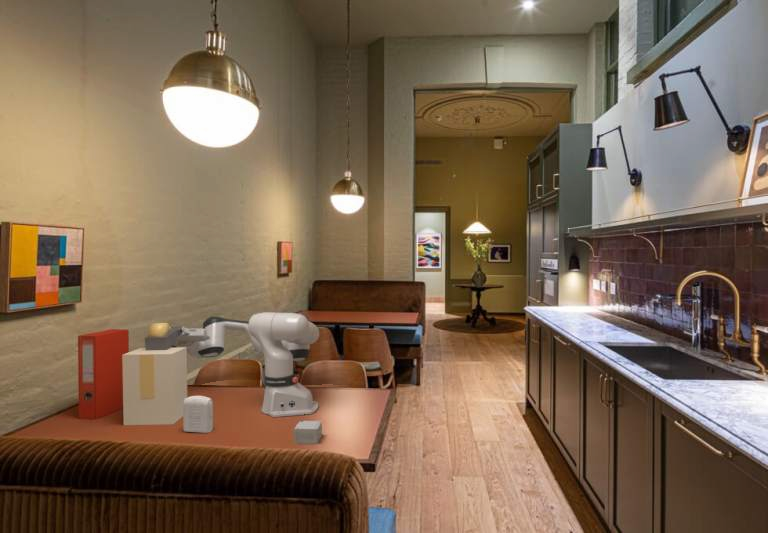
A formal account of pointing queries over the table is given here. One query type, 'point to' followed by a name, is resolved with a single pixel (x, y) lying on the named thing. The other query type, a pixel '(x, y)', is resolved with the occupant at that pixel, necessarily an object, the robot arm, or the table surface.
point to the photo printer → (198, 414)
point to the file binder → (101, 372)
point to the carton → (154, 386)
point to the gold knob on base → (161, 336)
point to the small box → (307, 432)
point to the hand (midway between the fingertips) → (176, 328)
